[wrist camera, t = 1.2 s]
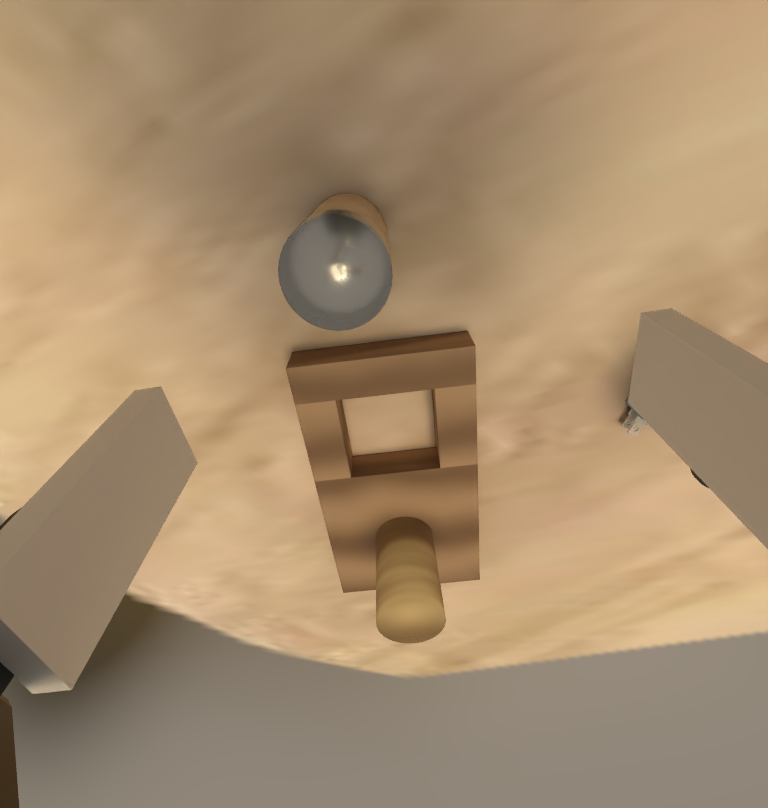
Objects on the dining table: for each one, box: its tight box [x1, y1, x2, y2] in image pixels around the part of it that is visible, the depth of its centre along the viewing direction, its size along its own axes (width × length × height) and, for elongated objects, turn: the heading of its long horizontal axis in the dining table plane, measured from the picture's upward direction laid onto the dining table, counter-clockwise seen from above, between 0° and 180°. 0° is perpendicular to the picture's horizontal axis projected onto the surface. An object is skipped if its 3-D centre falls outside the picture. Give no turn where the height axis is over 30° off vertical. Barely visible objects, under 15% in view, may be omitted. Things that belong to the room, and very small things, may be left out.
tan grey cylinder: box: [278, 193, 392, 331], centre depth 22 cm, size 5×5×10 cm
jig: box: [286, 331, 480, 643], centre depth 31 cm, size 22×12×10 cm, turn 7°
